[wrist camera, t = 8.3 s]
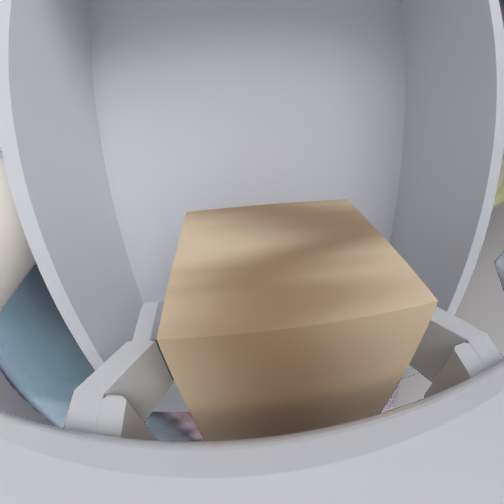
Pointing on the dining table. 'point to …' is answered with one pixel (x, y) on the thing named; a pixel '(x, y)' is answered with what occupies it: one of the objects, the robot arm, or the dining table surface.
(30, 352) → the dining table surface
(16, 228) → the cream cylinder
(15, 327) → the dining table surface
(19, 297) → the dining table surface
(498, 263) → the tea box
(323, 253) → the beech cube
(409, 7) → the tote
